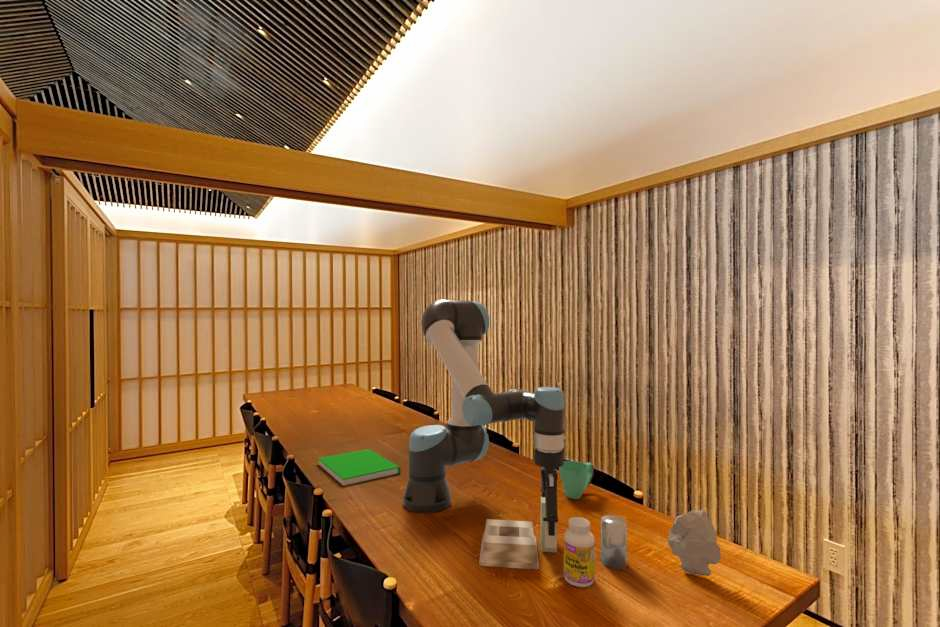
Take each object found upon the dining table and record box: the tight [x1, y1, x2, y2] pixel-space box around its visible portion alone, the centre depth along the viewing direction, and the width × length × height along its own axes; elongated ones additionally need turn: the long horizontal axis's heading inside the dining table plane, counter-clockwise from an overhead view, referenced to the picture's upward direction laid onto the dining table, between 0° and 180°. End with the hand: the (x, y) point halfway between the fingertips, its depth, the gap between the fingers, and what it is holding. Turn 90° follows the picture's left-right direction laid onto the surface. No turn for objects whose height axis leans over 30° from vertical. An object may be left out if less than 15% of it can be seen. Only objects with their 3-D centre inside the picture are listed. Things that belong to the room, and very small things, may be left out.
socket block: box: [478, 518, 540, 570], centre depth 106 cm, size 14×14×5 cm
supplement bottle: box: [563, 516, 596, 588], centre depth 95 cm, size 7×7×13 cm
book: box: [317, 448, 402, 486], centre depth 165 cm, size 22×28×3 cm
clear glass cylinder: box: [600, 514, 628, 571], centre depth 102 cm, size 6×6×10 cm
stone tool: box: [667, 509, 722, 577], centre depth 97 cm, size 11×4×15 cm, turn 51°
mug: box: [558, 460, 595, 500], centre depth 143 cm, size 15×10×10 cm
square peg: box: [539, 496, 558, 553], centre depth 108 cm, size 4×4×12 cm
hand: (548, 534), depth 108 cm, fingers open, 12 cm apart
